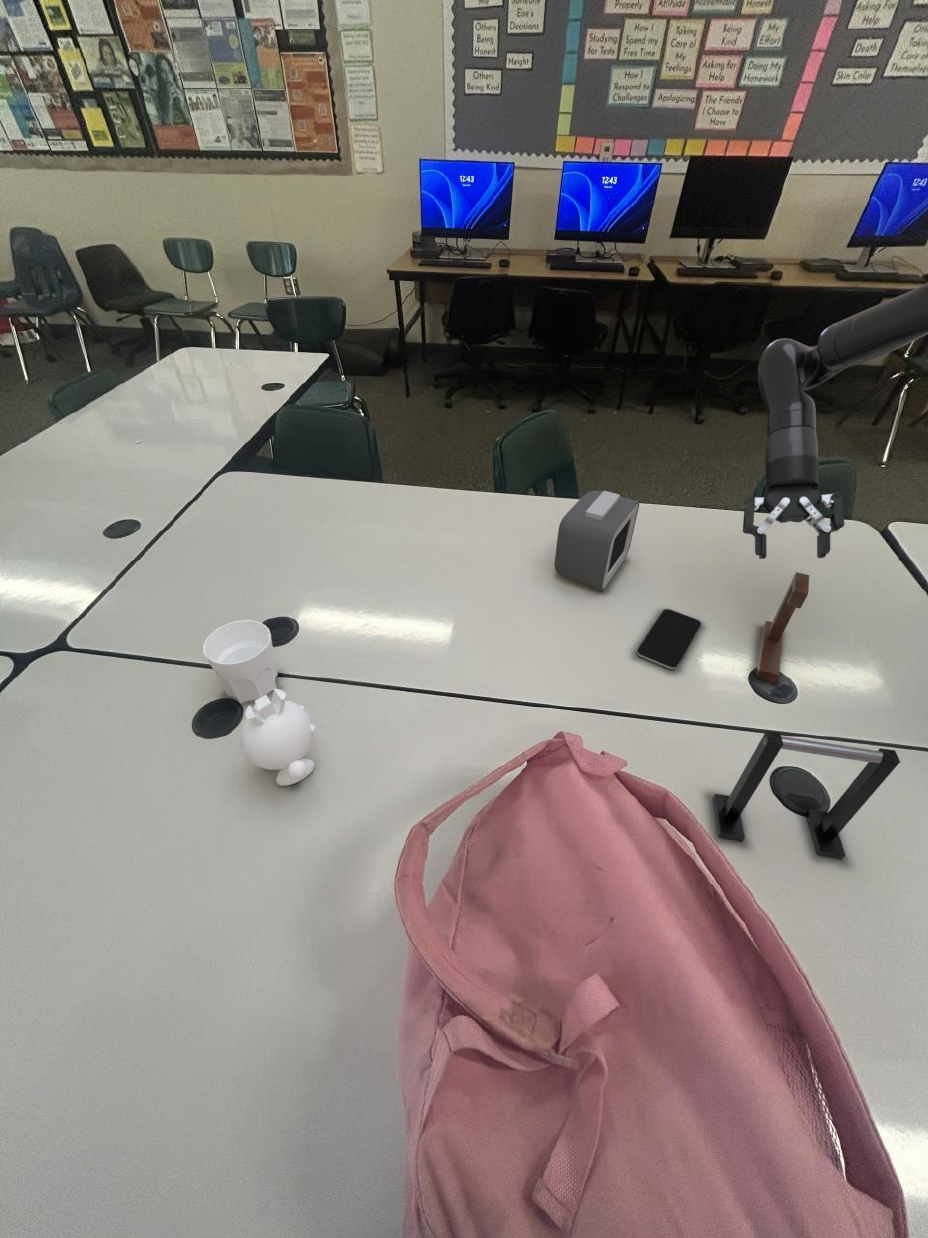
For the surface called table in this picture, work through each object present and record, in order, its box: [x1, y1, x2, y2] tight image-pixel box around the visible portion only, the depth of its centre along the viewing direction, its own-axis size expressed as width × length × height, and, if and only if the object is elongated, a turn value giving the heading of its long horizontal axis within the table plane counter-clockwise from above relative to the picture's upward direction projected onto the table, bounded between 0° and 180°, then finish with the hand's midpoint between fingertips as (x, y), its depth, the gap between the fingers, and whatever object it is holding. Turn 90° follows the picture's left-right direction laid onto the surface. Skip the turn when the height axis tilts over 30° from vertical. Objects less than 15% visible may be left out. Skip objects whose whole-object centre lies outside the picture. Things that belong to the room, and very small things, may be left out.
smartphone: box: [636, 608, 702, 670], centre depth 102 cm, size 7×1×15 cm
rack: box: [712, 730, 901, 860], centre depth 69 cm, size 15×6×18 cm, turn 79°
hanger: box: [755, 571, 810, 684], centre depth 94 cm, size 3×14×15 cm, turn 154°
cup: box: [202, 619, 279, 704], centre depth 91 cm, size 10×10×10 cm
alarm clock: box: [553, 490, 640, 592], centre depth 114 cm, size 16×11×16 cm
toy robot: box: [239, 688, 317, 787], centre depth 77 cm, size 15×10×15 cm, turn 36°
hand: (791, 557), depth 92 cm, fingers open, 8 cm apart
